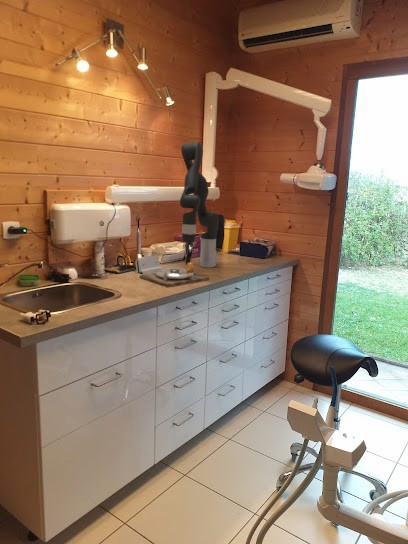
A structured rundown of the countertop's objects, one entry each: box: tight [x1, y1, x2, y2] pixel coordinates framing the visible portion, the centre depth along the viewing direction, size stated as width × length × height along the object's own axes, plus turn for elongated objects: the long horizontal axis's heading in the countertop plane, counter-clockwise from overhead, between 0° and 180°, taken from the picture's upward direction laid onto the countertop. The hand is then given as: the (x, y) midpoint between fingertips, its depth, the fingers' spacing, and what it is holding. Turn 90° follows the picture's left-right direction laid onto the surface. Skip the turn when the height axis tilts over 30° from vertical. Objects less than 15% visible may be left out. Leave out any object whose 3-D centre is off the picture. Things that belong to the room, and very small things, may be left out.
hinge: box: [134, 255, 164, 275], centre depth 240 cm, size 17×5×10 cm, turn 142°
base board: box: [139, 272, 210, 288], centre depth 224 cm, size 28×24×6 cm
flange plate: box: [155, 261, 194, 279], centre depth 223 cm, size 20×22×6 cm
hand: (187, 264), depth 230 cm, fingers closed
